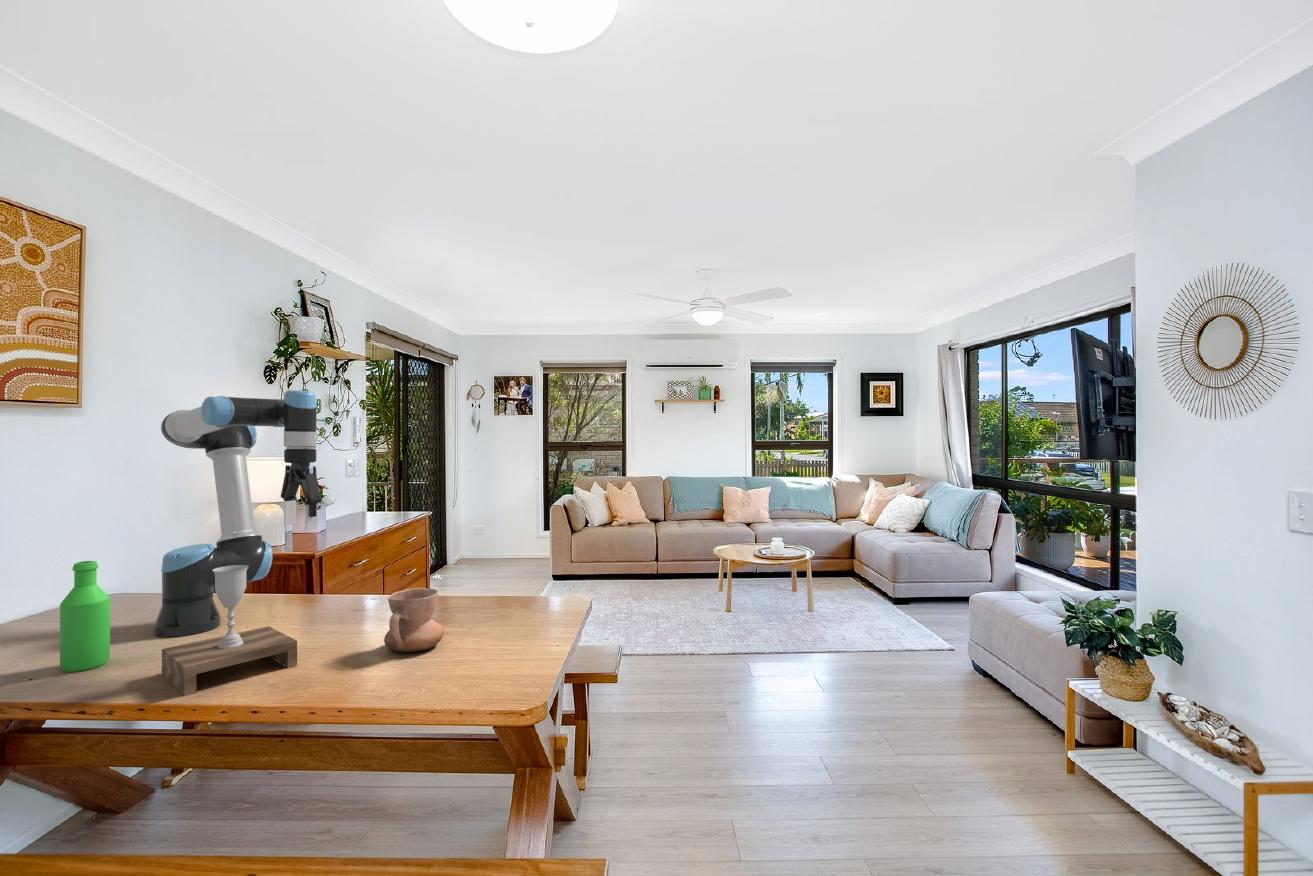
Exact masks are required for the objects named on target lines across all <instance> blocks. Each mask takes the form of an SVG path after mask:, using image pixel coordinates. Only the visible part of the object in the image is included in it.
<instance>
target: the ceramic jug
mask: <svg viewBox="0 0 1313 876" xmlns="http://www.w3.org/2000/svg"><path fill="white" fill-rule="evenodd" d="M438 599H439V590H438V589H435V588H426V587H418V588H417V587H416V588H408V589H405V590H399V591H395V592H393V593H392V594H389V596H387V601H388V607H389V609H390V612H391V614H392V615H391V616H390V618H389V621H388V624H389V629H388V631H387V632H386V633H385V635H384V637H383V642H384V645H385V646H386V647H387V648H388V649H390V650H392V651H394V652H400V653H416V652H421V651H425V650H428V649H430V648H433V647H434V646H436V645H438V643H440V642H441V641H442V639H443V636H444V632H445V631H444V628H443V626H442V625H441V624H440V623H439V622H436V621H435V620H433V619H432V617H433V615H434V612H435V610H436V607H437V604H438Z"/></svg>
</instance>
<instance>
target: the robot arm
mask: <svg viewBox="0 0 1313 876" xmlns="http://www.w3.org/2000/svg"><path fill="white" fill-rule="evenodd" d="M317 408H318V404H317V395H316V393H315V392H314V391H312V390H311V391H310V390H297V389H296V390H292V389H291V390H286V391H285V392H284V396H283V399H278V398H277V399H276V398H254V397H253V398H251V397H249V398H248V397H235V396H224V395H220V396H207V397H205V399H204V400H203V402H202V403H201V406H198V407H196V408H192V409H190V410H189V409H179V410H176V411H174V412H171V413H168V414H167V415H166V416H165V417H164V419H163V420H162V421H161V425H160V426H161V427H160V430H161V431H160V432H161V434H162V436H163V437H164V438H165V440H167V442H169V443H171V444H173V445H175V446H177V447H180V448H186V449H204V451H205V456H206V457H207V458H208V459H211V461H212V465H213V474H214V475H213V476H214V483H215V490H216V491H215V492H216V498H217V501H216V502H217V508H218V509H217V510H218V514H219V515H218V516H219V524H220V532H221V534H220V535H221V536H220V538H218V540H217V541H216V542H215V544H216V547H215V546H214V545H213V544H211V543H199V544H192V545H185V546H182V547H178V548H174V549H172V550H169V551H168V552H166V553H165V554H164V555H163V558H162V565H161V570H160V572H161V600H162V601H161V603H162V604H161V607H160V610H159V612H158V615H157V618H156V621H155V622H154V626H153V628H154V629H153V634H154V636H157V637H161V638H162V636H163V637H164V638H166V636H167V638H169V636H174V637H183V636H189V635H197V634H201V633H204V632H208V631H212V630H213V629H212V628H214V629H216V628H218V627H219V626H220V625H221V624H220V623H221V618H222V617H221V615H220V612H219V609H218V607H217V605H216V603H215V602H216V601H215V600H214V589H215V574H214V572H213V571H212V570H213V569H215V568H219V567H225V566H233V565H248V566H249V567H248V569H247V571H246V584H247V583H249V584H250V583H252V582H254V581H260V580H262V579H264V578H265V577H266V576H267V575H268V574H269V572H270V570H271V566H272V564H273V563H272V562H273V548H272V546H271V544H270V542H269V541H265V540H263V537H262V534H261V533H259V532H258V531H256V527H255V519H254V511H253V504H252V496H251V488H250V487H251V486H250V482H249V481H250V480H249V479H250V478H249V472H248V463H247V456H249V454H250V453H251V448H254V447H255V445H256V443H257V437H258V435H257V434H258V433H257V427H274V428H283V427H284V428H283V429H284V431H283V446H284V447H286V448H285V449H284V452H283V457H284V458H283V461H284V463H286V464H287V465H285V471H284V477H283V482H282V486H281V487H282V488H281V492H280V498H281V499H283V501H284V506H283V507H284V511H283V512H284V526H289V525H297V500H298V498H297V493H298V491H299V487H301V490H302V492H303V496H304V498H305V500H304V501H305V502H304V503H303V504H304V529H305V530H306V531H308V530H317V529H318V504H319V503H321V502H322V500H323V499H322V495H321V489H320V486H319V481H318V476H317V466H315V465H312V466H311V463H315V462H317V449H316V448H314V447H316V446H317V439H318V437H319V436H318V435H317V410H318V409H317ZM289 464H290V465H289ZM217 626H218V627H217ZM215 627H216V628H215ZM200 632H201V633H200Z"/></svg>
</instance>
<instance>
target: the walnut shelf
mask: <svg viewBox="0 0 1313 876" xmlns="http://www.w3.org/2000/svg"><path fill="white" fill-rule="evenodd" d="M237 633H238V634H239V635H240V637H241V638H242V641H243V642H244V643H243V644H242V645H239V646H236V647H231V648H218V645H219V644H220V641H221V638H222V637H223V636H224V635H221V636H216V637H211V638H207V639H202V640H197V641H193V642H188V643H185V644H179V645H174V646H169V647H165V648H161V676H162V677H163V678H164V679H165V680H167V681H168V682H169V683H170V684H171V685H172V686H174V688H175V689H176V690H178V691H179V692H180V691H181V692H182V693H183V694H184V695H183V694H182V693H181V692H180V693H181V694H182V695H183V696H188V695H189V696H190V695H193V694H196V693H197V675H198V674H201V673H207V672H209V671H210V672H211V671H214V670H217V669H223V668H226V667H227V668H228V667H230V666H234V665H235V666H236V665H238V664H242V663H245V662H250V661H255V660H258V659H263V658H267V657H268V656H269V657H268V658H270V657H271V658H270V659H272V660H274V659H275V660H277V661H278V662H277V661H276V662H277V663H279V662H280V663H281V665H282V664H284V665H285V666H287V667H290V668H292V667H291V666H294V665H297V666H298V640H297V639H294V638H293V637H291V636H289V635H287V634H285V633H284V632H282V631H279V630H277V629H275V628H273V627H272V626H269V625H267V626H263V627H258V628H254V629H251V630H250V629H249V630H245V631H240V632H237ZM275 660H274V661H275ZM280 663H279V664H280ZM284 665H283V666H284ZM285 666H284V667H285ZM287 667H286V668H287ZM294 667H295V666H294ZM192 693H193V694H192Z"/></svg>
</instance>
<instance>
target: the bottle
mask: <svg viewBox="0 0 1313 876" xmlns="http://www.w3.org/2000/svg"><path fill="white" fill-rule="evenodd" d="M98 568H99V564H98V562H97V561H96V560H85V561H84V560H83V561H79V562H76V563H74V564H73V566H72V568H71V570H72V571H73V572H74V573H73V575H74V577H73V579H74V580H73V584H74V585H73V587H72V589H71V590H70V591H69V592H68V594H67V595H66V596H65V597H64V599H63V600H62V601H61V602H60V604H59V668H60V670H63V671H65V672H68V673H69V672H70V673H76V672H83V671H84V672H85V671H89V670H93V669H96V668H99V667H102V666H104V665H105V664H106V663H107V662H108V661H110V660H111V598H110V596H109V595H108V594H107V593H106V592H105V591H104V590H103V589H102V588H101V587H100V586H99V585H98V584H97V569H98Z"/></svg>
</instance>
